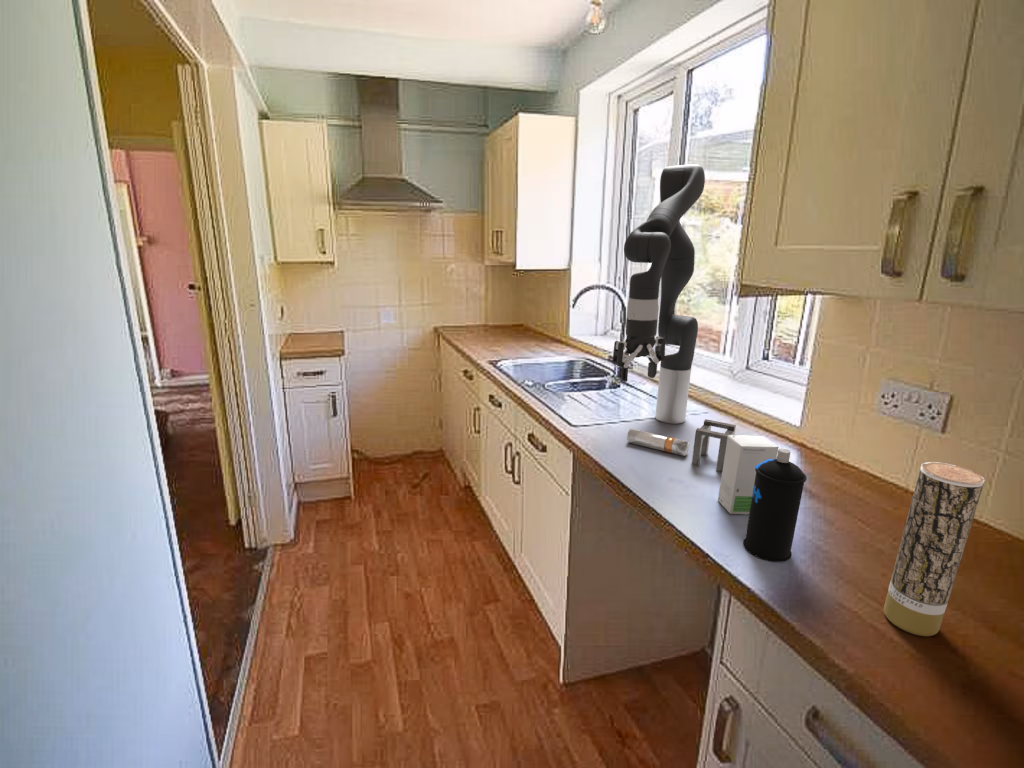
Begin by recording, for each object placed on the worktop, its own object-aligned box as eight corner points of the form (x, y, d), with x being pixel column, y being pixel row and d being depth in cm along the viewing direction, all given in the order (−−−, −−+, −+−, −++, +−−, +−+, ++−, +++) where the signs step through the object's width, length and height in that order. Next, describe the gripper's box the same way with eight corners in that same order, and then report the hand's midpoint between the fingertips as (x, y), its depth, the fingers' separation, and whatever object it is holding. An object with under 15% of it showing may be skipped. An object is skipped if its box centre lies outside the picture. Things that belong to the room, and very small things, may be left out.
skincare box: (729, 515, 106) (739, 446, 102) (716, 499, 113) (725, 434, 108) (768, 514, 107) (780, 446, 102) (753, 499, 113) (763, 434, 108)
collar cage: (701, 452, 137) (705, 419, 135) (731, 459, 133) (736, 425, 130) (691, 464, 130) (695, 429, 127) (722, 472, 125) (727, 436, 123)
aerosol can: (797, 549, 95) (817, 451, 89) (782, 568, 89) (802, 464, 83) (752, 531, 100) (768, 438, 95) (735, 548, 95) (751, 449, 89)
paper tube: (929, 646, 72) (976, 488, 65) (875, 618, 78) (913, 469, 71) (944, 626, 76) (991, 475, 69) (892, 600, 82) (930, 458, 75)
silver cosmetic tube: (626, 444, 142) (627, 431, 141) (631, 439, 145) (632, 426, 144) (684, 458, 133) (685, 444, 132) (688, 453, 136) (690, 439, 135)
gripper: (656, 312, 131) (651, 372, 136) (609, 316, 126) (605, 378, 130) (675, 316, 124) (669, 380, 129) (626, 321, 119) (622, 386, 124)
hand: (637, 379), depth 130 cm, fingers open, 8 cm apart
